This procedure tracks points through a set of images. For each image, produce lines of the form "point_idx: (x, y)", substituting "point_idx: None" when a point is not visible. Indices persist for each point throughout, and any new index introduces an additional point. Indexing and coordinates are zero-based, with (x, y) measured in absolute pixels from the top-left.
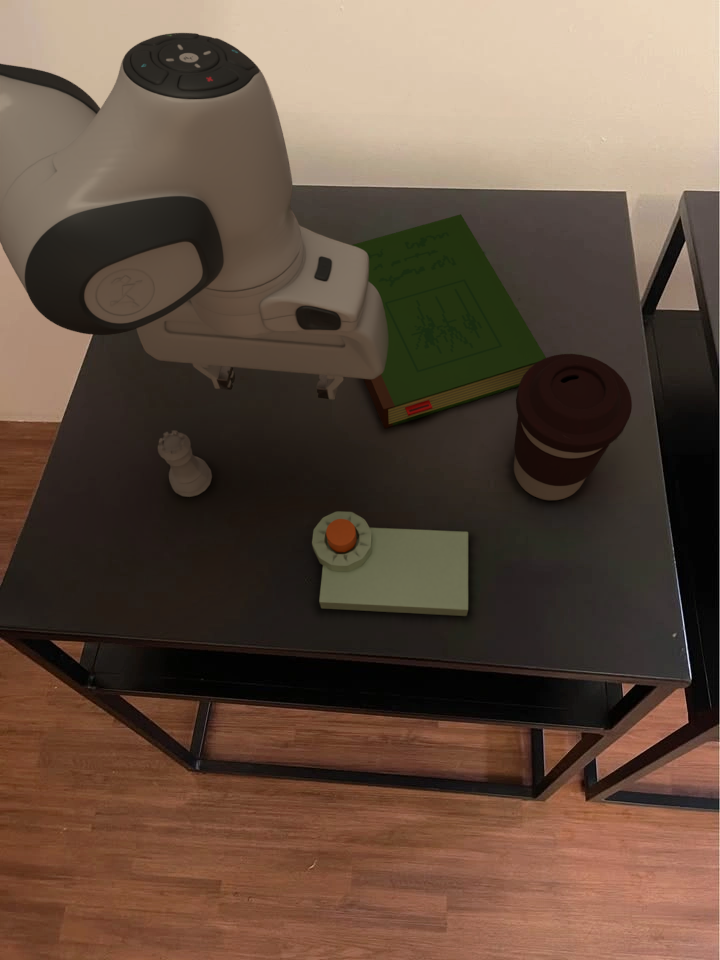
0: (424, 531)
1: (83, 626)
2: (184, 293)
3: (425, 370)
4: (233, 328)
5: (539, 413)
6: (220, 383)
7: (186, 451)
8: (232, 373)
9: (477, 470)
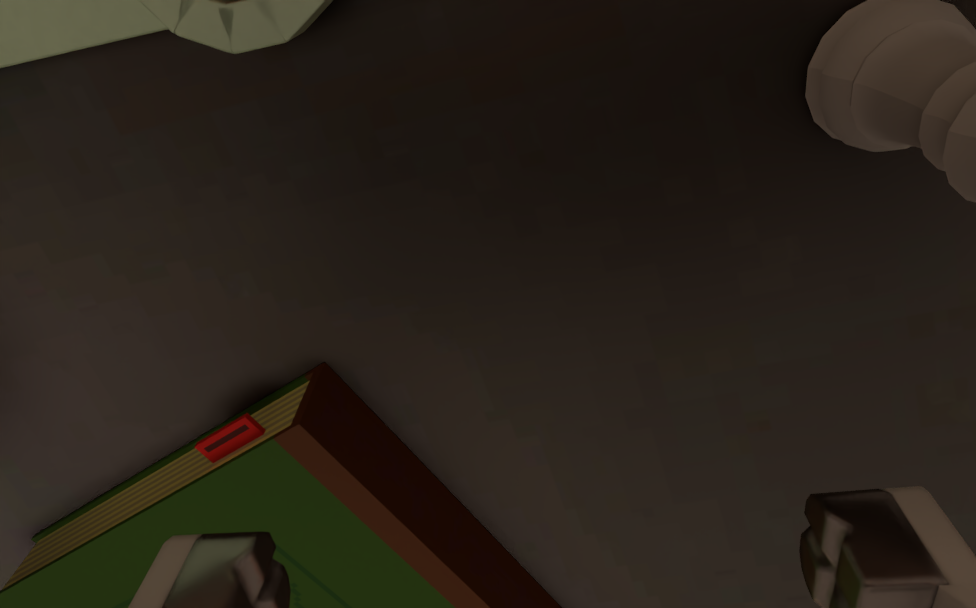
0: (7, 58)
1: None
2: None
3: None
4: None
5: None
6: (903, 544)
7: (961, 122)
8: (822, 594)
9: (34, 298)
